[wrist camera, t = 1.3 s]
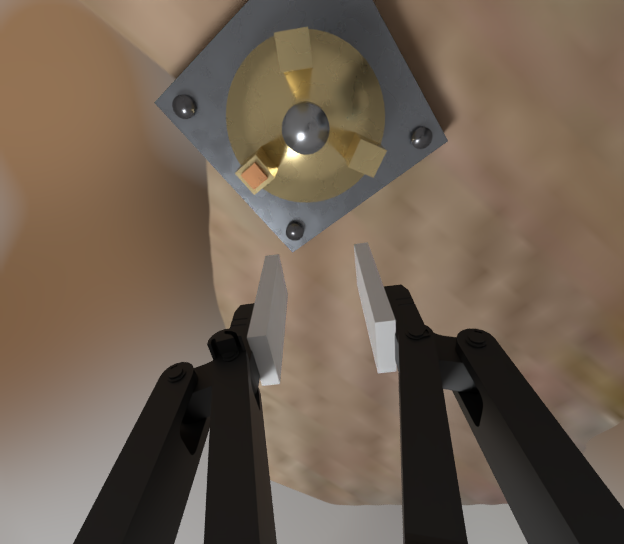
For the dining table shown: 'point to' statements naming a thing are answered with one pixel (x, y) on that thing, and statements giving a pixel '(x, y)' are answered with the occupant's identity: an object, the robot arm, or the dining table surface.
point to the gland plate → (229, 56)
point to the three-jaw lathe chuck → (305, 116)
